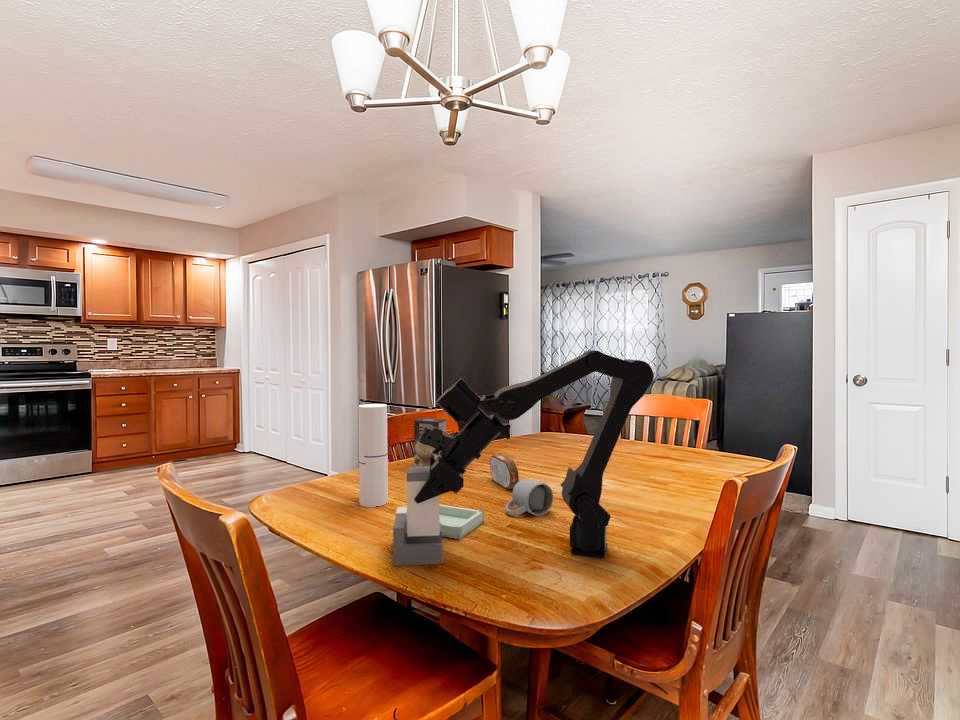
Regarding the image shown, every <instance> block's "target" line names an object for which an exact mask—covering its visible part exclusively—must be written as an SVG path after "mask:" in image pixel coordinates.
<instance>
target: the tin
mask: <svg viewBox="0 0 960 720" xmlns="http://www.w3.org/2000/svg"><path fill="white" fill-rule="evenodd" d="M489 466H490V467H489V468H490V475H491V479H492V480H493V481H494V482H495V483H496V484H497V485H499V486H500V487H502V488H503V489H505V490H513V488H514V486H515V485H516V484H517V483H518V482H519V481H520V475H519V470H518V467H517V464H516V462H515V461H514V460H513V458H510V457H508V456H506V455H504V454H502V453H498V454H493V455H491V457H490V459H489Z"/></svg>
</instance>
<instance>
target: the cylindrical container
mask: <svg viewBox="0 0 960 720" xmlns="http://www.w3.org/2000/svg"><path fill="white" fill-rule="evenodd" d="M357 409H358V474H359V475H358V482H359V483H358V484H359V485H358V489H359V492H358V493H359V497H358V499H359V500H358V501H359V503H360V504H359V505H360V506H361V505H362V506H361V507H363V506H365V507H364V508H377V507H376V506H380V507H383V506H382V505H384V504H386V503H387V504H388V503H389V490H388V489H389V486H388V485H389V484H388V483H389V481H388V480H389V479H388V478H389V477H388V476H389V474H388V472H389V471H388V468H389V465H388V464H389V463H388V461H389V458H388V455H389V454H388V405H387V404H386V403H364V404H359V405H358V407H357ZM387 504H386V505H387ZM384 506H385V505H384Z"/></svg>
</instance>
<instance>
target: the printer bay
mask: <svg viewBox="0 0 960 720" xmlns="http://www.w3.org/2000/svg"><path fill="white" fill-rule="evenodd" d="M439 524H440V535H438V536H410V537H408V535H407V506H397V508H396V511H395V519H394V523H393V528H392V555H393V556H392V557H393V558H392V561H393V563H392V565H393V567H394V566H399V567H400V566H425V565H429V566H430V565H443V537H442V523H439Z"/></svg>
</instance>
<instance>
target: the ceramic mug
mask: <svg viewBox="0 0 960 720" xmlns="http://www.w3.org/2000/svg"><path fill="white" fill-rule="evenodd" d="M511 496H512V497H511V498H512V499H511V500H510V501H508V502H507V503H506V505H505V510H506V513H507V515H508V516H510V517H517V516H520V515H522V514H524V513H526V512H528V513H529V514H531V515H533V516H535V517H537V516H538V517H540V516H544V515H546V514H547V513H548V512H549V510H551V508H552V506H553V503H554V493H553V489H552V488H551V487H550V485H549V484H547V483H546V482H545V483H544V482H540V481H537V480H533V479H528V478H527V479H521V480H519V482H518V483H517V484H516V485H515V486H514V488H513V489H512V493H511ZM515 505H516V506H517V507H518V508H515V509H512V508H513V507H514V506H515ZM511 509H512V510H511Z"/></svg>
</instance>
